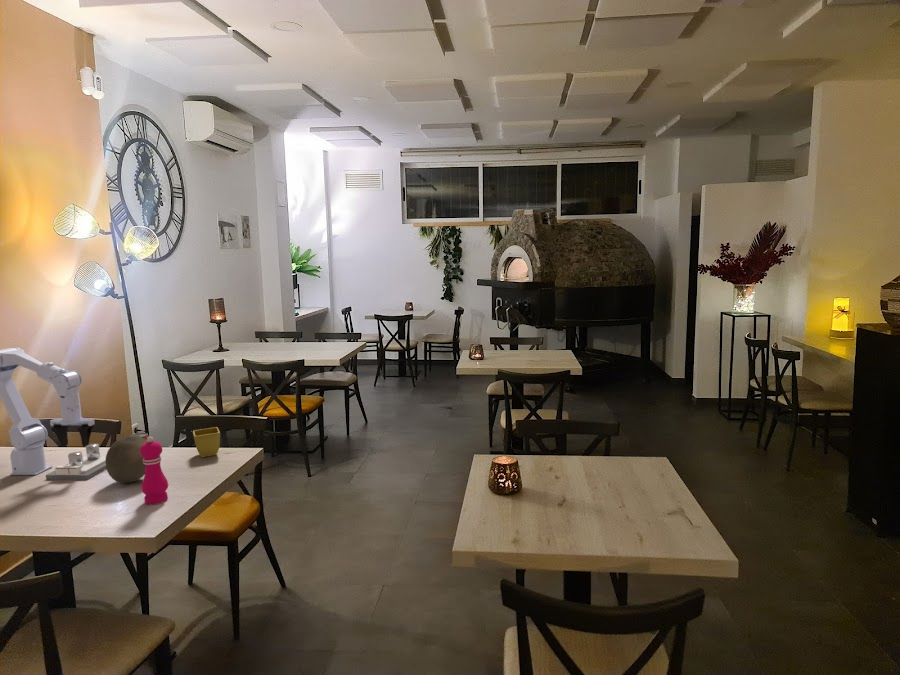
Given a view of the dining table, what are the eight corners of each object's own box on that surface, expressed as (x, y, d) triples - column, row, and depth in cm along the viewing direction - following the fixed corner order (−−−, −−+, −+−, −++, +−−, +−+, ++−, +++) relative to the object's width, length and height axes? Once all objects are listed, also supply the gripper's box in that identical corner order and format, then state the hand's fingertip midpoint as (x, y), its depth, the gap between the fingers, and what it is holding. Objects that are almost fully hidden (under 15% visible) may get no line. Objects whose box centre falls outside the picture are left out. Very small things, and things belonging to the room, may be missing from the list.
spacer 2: (84, 460, 211) (83, 447, 210) (92, 456, 215) (90, 443, 214) (95, 460, 211) (93, 447, 210) (102, 456, 214) (101, 443, 214)
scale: (46, 479, 200) (44, 467, 199) (81, 461, 217) (79, 450, 216) (88, 479, 199) (87, 467, 198) (120, 461, 216) (118, 450, 215)
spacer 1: (67, 469, 202) (65, 455, 202) (76, 465, 206) (74, 451, 206) (77, 469, 202) (75, 455, 201) (86, 465, 206) (84, 451, 205)
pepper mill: (158, 506, 176) (152, 441, 173) (137, 504, 177) (130, 440, 174) (174, 496, 183) (168, 433, 180) (154, 495, 184) (147, 432, 181)
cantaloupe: (112, 493, 186) (107, 447, 184) (104, 480, 197) (99, 437, 195) (161, 481, 195) (156, 437, 193) (150, 470, 206) (146, 428, 204)
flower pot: (194, 453, 223) (192, 430, 221) (219, 449, 227) (217, 426, 225) (196, 460, 215) (194, 436, 214) (222, 456, 219) (220, 432, 218)
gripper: (41, 410, 198) (46, 449, 200) (82, 410, 197) (87, 449, 199) (56, 405, 205) (61, 442, 207) (96, 404, 204) (101, 442, 206)
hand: (75, 445), depth 203 cm, fingers open, 7 cm apart
